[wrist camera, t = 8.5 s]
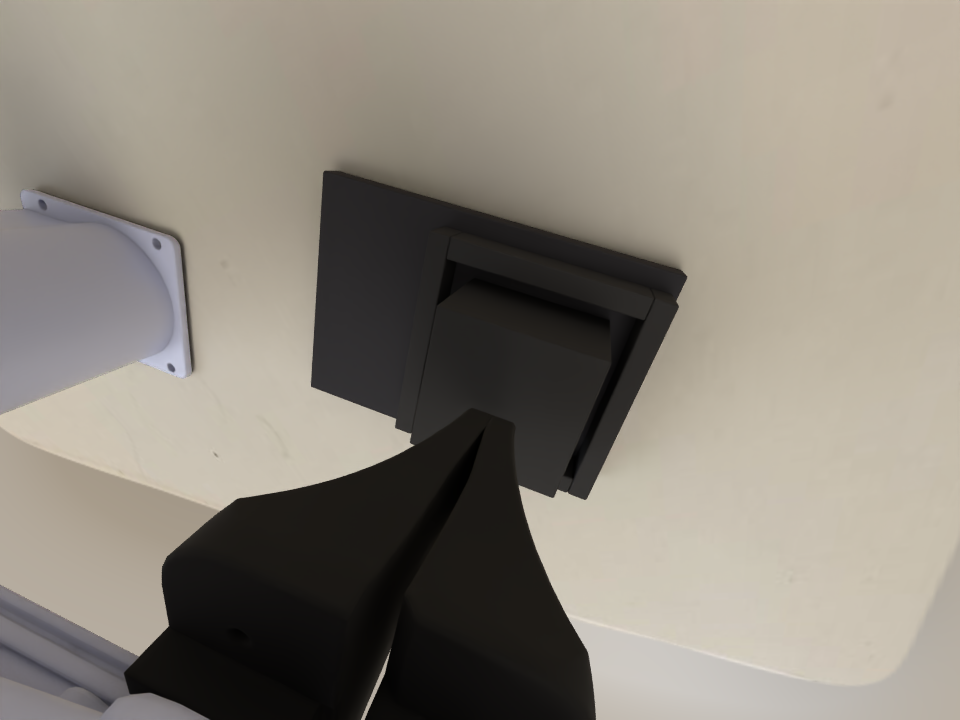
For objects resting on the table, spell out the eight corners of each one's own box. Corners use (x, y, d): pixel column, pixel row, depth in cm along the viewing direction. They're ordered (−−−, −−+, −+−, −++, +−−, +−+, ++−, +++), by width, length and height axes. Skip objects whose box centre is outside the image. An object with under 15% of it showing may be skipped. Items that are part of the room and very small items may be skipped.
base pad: (322, 378, 21) (289, 401, 19) (337, 170, 17) (297, 169, 15) (587, 476, 19) (585, 515, 17) (683, 270, 15) (696, 286, 13)
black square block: (446, 393, 19) (409, 443, 15) (473, 277, 16) (436, 304, 13) (564, 435, 18) (553, 499, 14) (610, 320, 15) (611, 362, 12)
